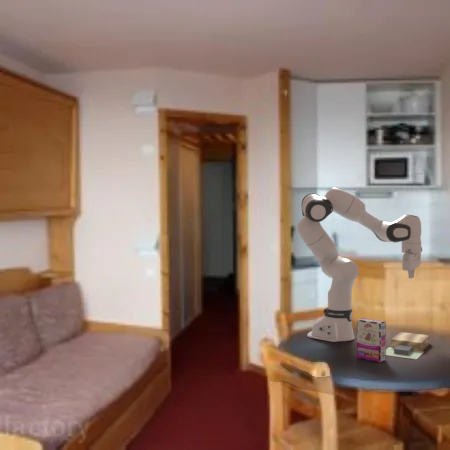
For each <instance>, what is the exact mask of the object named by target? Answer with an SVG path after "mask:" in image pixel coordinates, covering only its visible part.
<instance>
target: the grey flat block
mask: <svg viewBox="0 0 450 450" xmlns="http://www.w3.org/2000/svg"><path fill="white" fill-rule="evenodd" d="M412 351H413V346H410V345H402V344H399V345H398V346H397V347H396V348H394V354H402V355H409V354H410V353H411V352H412Z"/></svg>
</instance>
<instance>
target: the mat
mask: <svg viewBox="0 0 450 450" xmlns="http://www.w3.org/2000/svg"><path fill="white" fill-rule="evenodd" d="M424 352H425V351H414V350H413V351H412V352H411V353H410V354H409V355H402V354H394V348H391V346H390V347H387V348H386V357H393V358H402V359H408V360H409V359H410V360H415V361H417V360H419V358H421V356H422V355H423V354H424Z"/></svg>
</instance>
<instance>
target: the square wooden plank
mask: <svg viewBox="0 0 450 450" xmlns="http://www.w3.org/2000/svg"><path fill="white" fill-rule="evenodd" d="M390 342H391V343H390V344H391V346H390V347H391V348H396V347H397V346H398V345H399V344H402V345H410V346H413V350H414V351H422V352H424V350H425V349H426V348H427V347H428V346H429V345H430V334H429V335H428V334H422V333H421V334H419V333H412V332H402V331H400V332H398V334H396V335H394V337H392V338H391V340H390Z"/></svg>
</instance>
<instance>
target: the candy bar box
mask: <svg viewBox="0 0 450 450" xmlns="http://www.w3.org/2000/svg"><path fill="white" fill-rule="evenodd" d="M386 343H387V322H386V321H384V320H378V319H371V318H365V317H362V318H359V319H356V359H361V360H364V361H369V362H370V361H371V362H375V363H383V362H385V361H387V356H386V349H387V344H386Z"/></svg>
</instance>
